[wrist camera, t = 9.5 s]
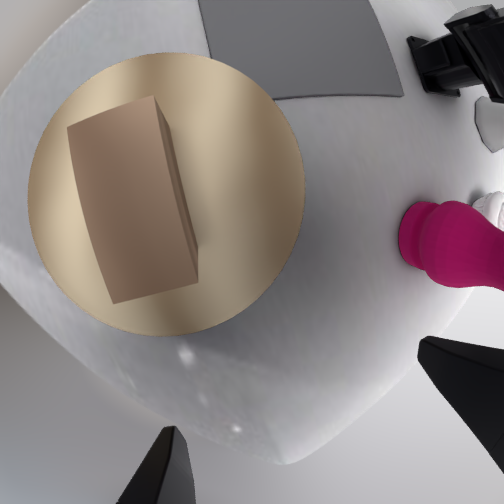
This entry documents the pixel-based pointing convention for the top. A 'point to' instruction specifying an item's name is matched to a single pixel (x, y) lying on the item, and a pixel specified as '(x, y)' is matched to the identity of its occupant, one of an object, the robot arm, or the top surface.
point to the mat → (303, 46)
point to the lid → (166, 194)
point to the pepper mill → (453, 245)
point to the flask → (490, 123)
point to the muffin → (492, 208)
